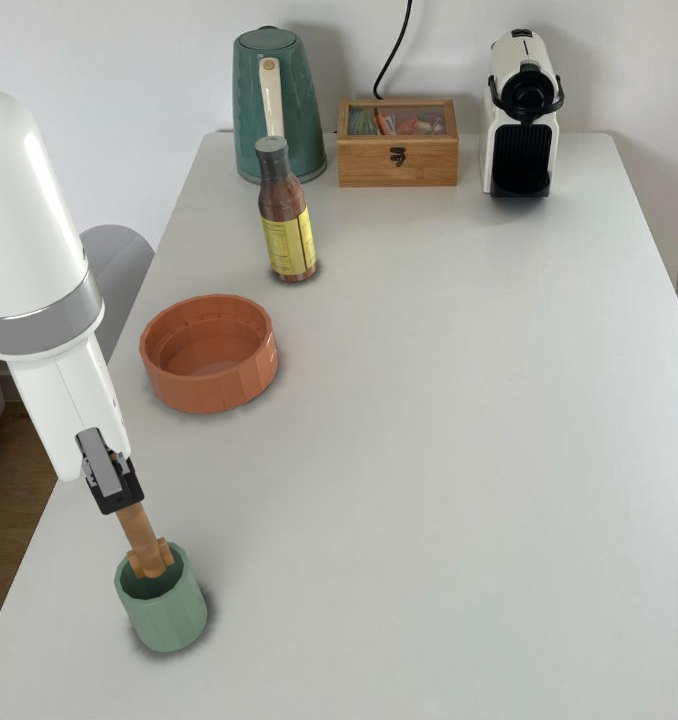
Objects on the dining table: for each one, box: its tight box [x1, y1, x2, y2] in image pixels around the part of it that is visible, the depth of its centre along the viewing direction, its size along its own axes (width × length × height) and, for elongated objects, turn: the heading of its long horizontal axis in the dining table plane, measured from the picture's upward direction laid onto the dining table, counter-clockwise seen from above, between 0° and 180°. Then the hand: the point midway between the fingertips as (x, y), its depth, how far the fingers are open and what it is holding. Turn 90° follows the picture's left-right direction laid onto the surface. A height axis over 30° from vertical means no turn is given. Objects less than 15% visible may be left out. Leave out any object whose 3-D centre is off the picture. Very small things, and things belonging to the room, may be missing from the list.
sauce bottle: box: [254, 135, 317, 283], centre depth 106 cm, size 6×6×20 cm
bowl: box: [138, 293, 279, 415], centre depth 96 cm, size 15×15×6 cm
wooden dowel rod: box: [109, 454, 174, 579], centre depth 63 cm, size 3×2×16 cm, turn 118°
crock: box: [113, 541, 208, 653], centre depth 71 cm, size 6×6×8 cm
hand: (118, 491), depth 61 cm, fingers closed on wooden dowel rod, 2 cm apart
